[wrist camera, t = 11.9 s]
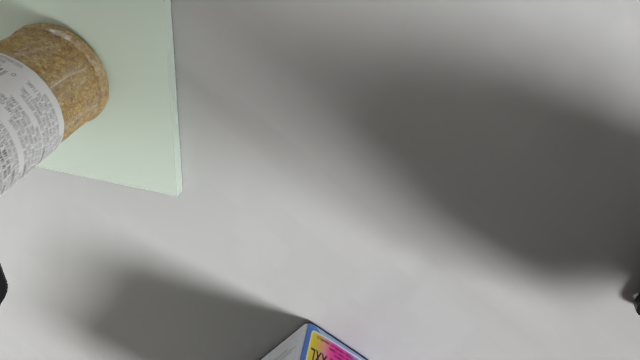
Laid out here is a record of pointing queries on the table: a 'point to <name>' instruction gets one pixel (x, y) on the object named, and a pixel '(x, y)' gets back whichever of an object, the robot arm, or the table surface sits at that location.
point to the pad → (118, 90)
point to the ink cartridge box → (311, 347)
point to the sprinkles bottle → (44, 95)
